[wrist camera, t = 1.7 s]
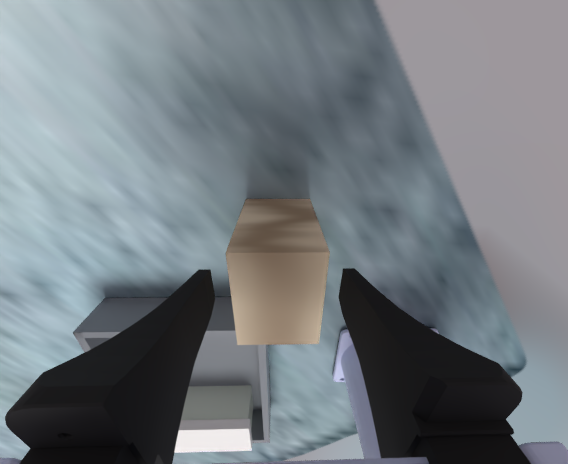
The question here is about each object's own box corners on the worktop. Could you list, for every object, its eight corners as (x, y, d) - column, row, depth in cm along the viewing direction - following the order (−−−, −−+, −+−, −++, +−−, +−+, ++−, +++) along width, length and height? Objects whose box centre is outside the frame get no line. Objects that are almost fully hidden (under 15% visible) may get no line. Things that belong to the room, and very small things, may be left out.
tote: (266, 296, 20) (264, 330, 17) (270, 406, 28) (269, 442, 25) (104, 298, 20) (72, 332, 17) (156, 408, 28) (141, 445, 25)
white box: (253, 384, 25) (248, 428, 22) (255, 406, 27) (251, 450, 24) (157, 386, 25) (136, 431, 21) (166, 408, 27) (149, 453, 24)
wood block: (309, 198, 16) (329, 252, 10) (305, 268, 19) (318, 343, 13) (245, 198, 16) (225, 252, 10) (250, 268, 19) (237, 344, 13)
